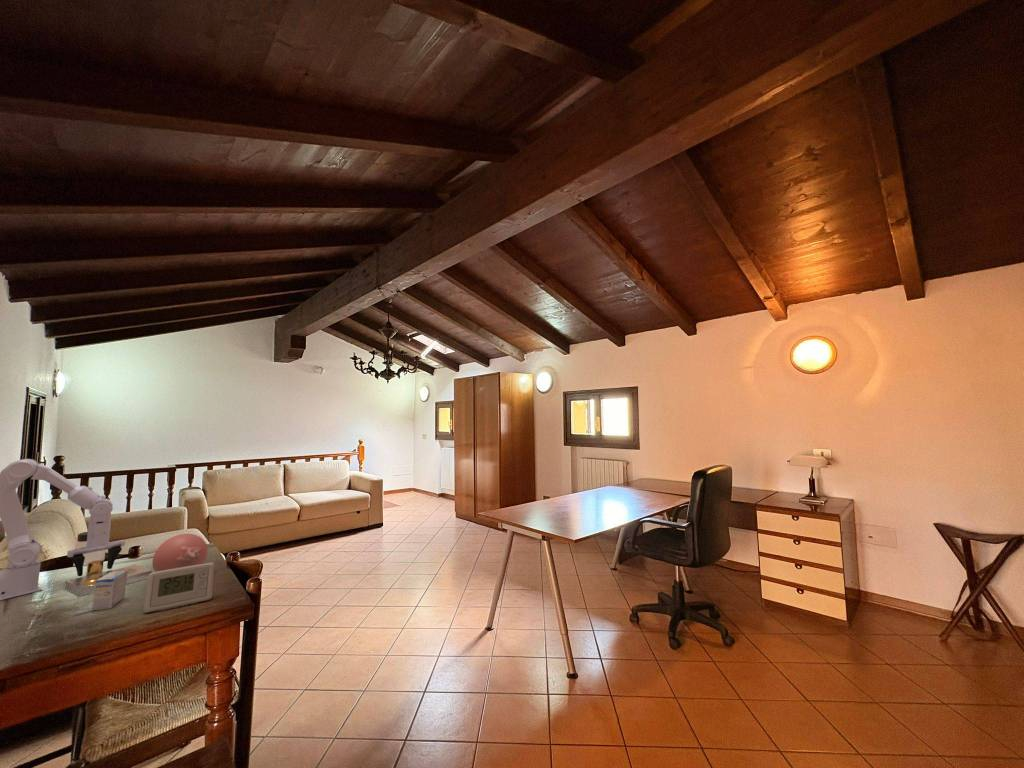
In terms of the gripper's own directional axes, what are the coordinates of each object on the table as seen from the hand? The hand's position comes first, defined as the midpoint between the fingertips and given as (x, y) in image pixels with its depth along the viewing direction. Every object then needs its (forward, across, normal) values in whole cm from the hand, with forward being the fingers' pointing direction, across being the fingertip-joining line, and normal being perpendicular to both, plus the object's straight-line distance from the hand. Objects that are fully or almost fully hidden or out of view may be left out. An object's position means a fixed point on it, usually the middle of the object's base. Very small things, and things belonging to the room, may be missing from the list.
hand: (94, 571), depth 142 cm
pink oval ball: (+3, +14, -30) cm, 33 cm away
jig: (+2, +1, -10) cm, 11 cm away
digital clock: (+3, +4, -54) cm, 54 cm away
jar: (+3, +6, +27) cm, 28 cm away
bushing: (+2, 0, 0) cm, 3 cm away
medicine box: (+3, -6, -34) cm, 35 cm away
